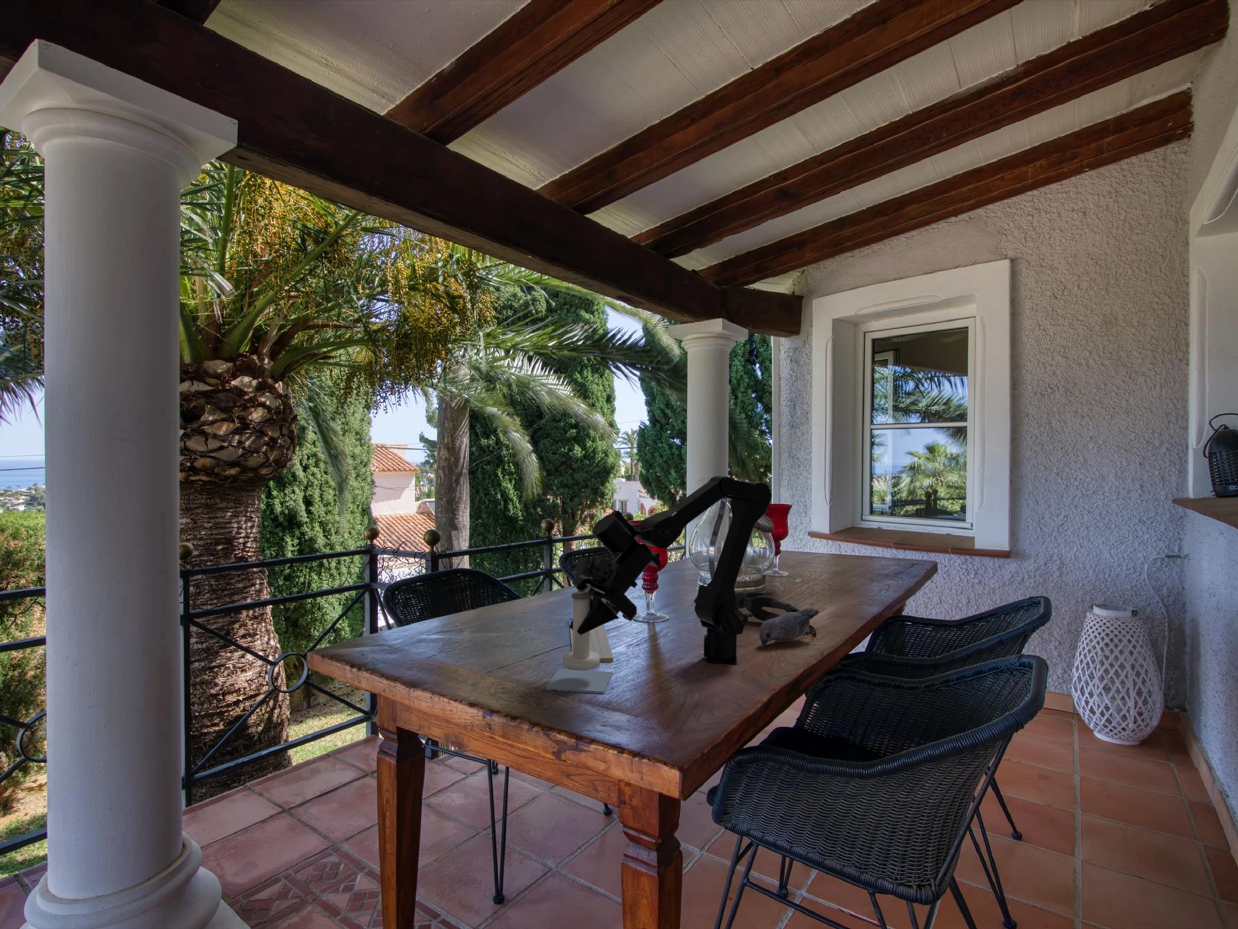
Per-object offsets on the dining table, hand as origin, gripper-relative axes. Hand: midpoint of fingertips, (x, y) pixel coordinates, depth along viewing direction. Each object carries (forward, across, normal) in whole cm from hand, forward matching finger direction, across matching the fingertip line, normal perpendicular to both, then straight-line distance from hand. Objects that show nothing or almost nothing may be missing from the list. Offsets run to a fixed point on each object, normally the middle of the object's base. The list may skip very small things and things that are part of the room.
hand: (574, 631), depth 125 cm
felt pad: (+6, 0, +8) cm, 10 cm away
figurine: (-37, -22, +52) cm, 68 cm away
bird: (-32, -4, +47) cm, 57 cm away
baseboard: (-2, -24, +17) cm, 29 cm away
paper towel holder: (+4, 0, +6) cm, 7 cm away
